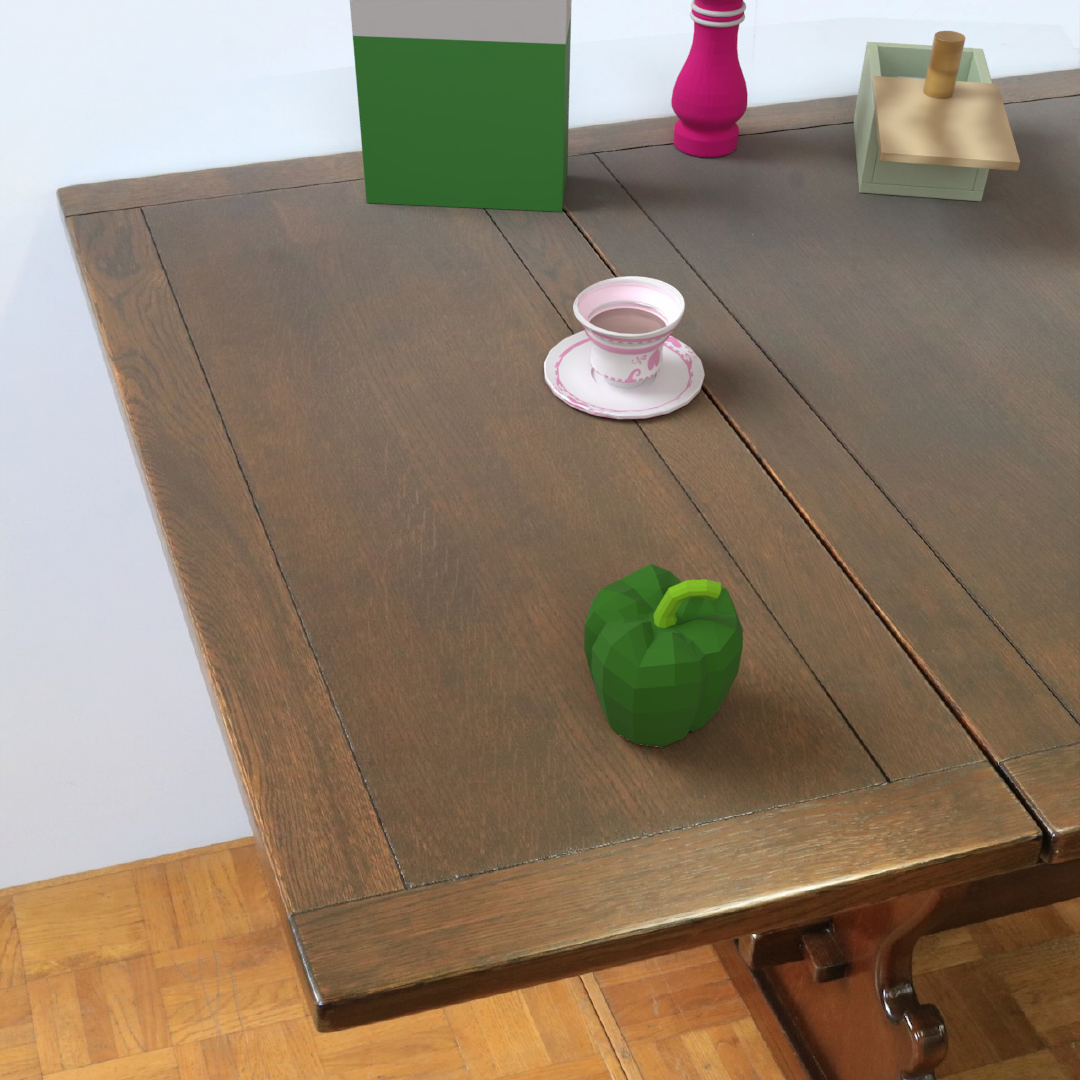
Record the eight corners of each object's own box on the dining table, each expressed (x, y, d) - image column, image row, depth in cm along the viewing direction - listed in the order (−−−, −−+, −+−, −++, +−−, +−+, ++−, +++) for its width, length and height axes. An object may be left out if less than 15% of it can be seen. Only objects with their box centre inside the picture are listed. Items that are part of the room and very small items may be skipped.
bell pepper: (557, 741, 72) (560, 609, 66) (612, 642, 78) (620, 512, 72) (703, 791, 70) (722, 660, 63) (749, 686, 76) (770, 555, 69)
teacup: (634, 443, 93) (639, 370, 89) (510, 377, 99) (509, 305, 95) (736, 373, 99) (745, 301, 95) (614, 314, 105) (617, 245, 101)
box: (964, 128, 133) (983, 48, 127) (981, 201, 121) (1002, 117, 115) (853, 120, 134) (866, 41, 128) (858, 192, 122) (874, 108, 117)
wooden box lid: (995, 92, 119) (1011, 27, 115) (1018, 171, 107) (1036, 101, 103) (871, 84, 120) (883, 19, 117) (880, 161, 108) (893, 92, 105)
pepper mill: (723, 124, 133) (745, -89, 120) (754, 154, 128) (781, -64, 114) (656, 133, 131) (671, -81, 118) (685, 164, 126) (704, -57, 113)
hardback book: (366, 202, 119) (342, -80, 104) (380, 166, 125) (360, -107, 109) (562, 211, 118) (568, -72, 103) (567, 174, 124) (573, -100, 108)
